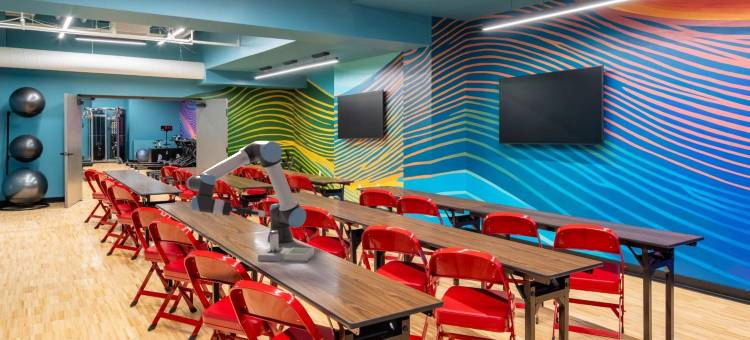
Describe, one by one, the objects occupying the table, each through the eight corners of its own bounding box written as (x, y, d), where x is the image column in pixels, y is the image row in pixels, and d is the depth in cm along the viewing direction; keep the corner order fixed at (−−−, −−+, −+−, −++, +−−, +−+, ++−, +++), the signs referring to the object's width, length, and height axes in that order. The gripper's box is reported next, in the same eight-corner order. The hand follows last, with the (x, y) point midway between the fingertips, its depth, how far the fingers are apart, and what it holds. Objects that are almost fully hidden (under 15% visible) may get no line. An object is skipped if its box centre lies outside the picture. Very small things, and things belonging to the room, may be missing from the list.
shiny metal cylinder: (272, 256, 261) (271, 230, 260) (279, 256, 261) (279, 230, 259) (269, 258, 257) (268, 231, 256) (277, 258, 256) (276, 232, 255)
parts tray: (292, 254, 263) (292, 247, 263) (314, 255, 262) (314, 248, 261) (284, 261, 250) (283, 253, 249) (306, 262, 248) (306, 254, 247)
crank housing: (269, 253, 267) (269, 244, 267) (290, 253, 266) (290, 244, 265) (257, 260, 252) (257, 251, 251) (280, 261, 250) (280, 252, 250)
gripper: (222, 213, 264) (262, 219, 270) (220, 215, 240) (263, 222, 245) (225, 200, 265) (264, 206, 270) (223, 200, 241) (266, 207, 246)
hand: (264, 213), depth 258 cm, fingers open, 13 cm apart
